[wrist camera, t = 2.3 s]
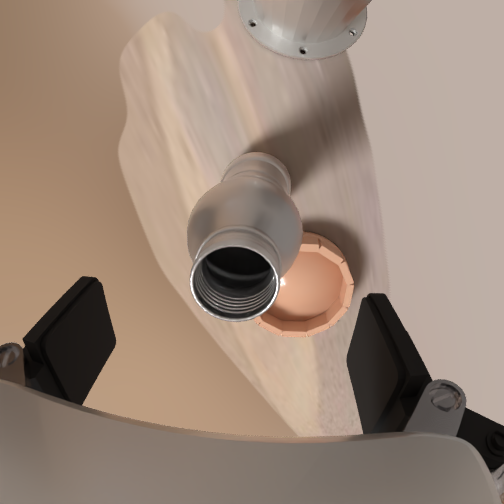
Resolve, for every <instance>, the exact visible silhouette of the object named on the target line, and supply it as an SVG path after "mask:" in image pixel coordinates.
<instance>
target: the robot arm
mask: <svg viewBox="0 0 504 504" xmlns="http://www.w3.org/2000/svg"><path fill="white" fill-rule="evenodd" d="M237 1H238V11H239V15H240V18H241V20H242V22H243V25H244V27H245V28H246V29H247V31H248V32H249V34H250V35H251V36H252V37H253V38H254V39H255V40H256V41H257V42H258V43H260V44H261V45H263V46H264V47H266V48H267V49H269V50H271V51H273V52H275V53H277V54H280V55H282V56H286V57H290V58H293V59H301V60H319V59H324V58H329V57H332V56H335V55H337V54H340V53H342V52H343V51H345V50H346V49H348V48H349V47H350V46H352V45H353V44H354V43H355V42H356V41H357V40H358V38H359V37H360V36H361V34H362V32H363V30H364V28H365V24H366V20H367V8H366V6H367V5H368V3H370V2H371V0H237ZM251 24H256V26H255V27H251ZM349 32H351V33H352V34H353V36H352V35H350V34H349ZM301 50H303V51H305V54H301V53H300V51H301ZM23 342H24V344H25V347H24V348H22V347H21V346H20V345H19V344H17V343H12V342H11V343H6V344H4V345H1V346H0V504H504V426H503V425H501V424H498V423H496V422H494V421H492V420H490V419H488V418H486V417H484V416H482V415H480V414H478V413H476V412H474V411H472V410H470V409H467V408H466V397H465V394H464V392H463V390H462V389H461V388H460V387H459V386H458V385H457V384H455V383H453V382H451V381H448V380H441V379H440V380H439V379H438V380H434V381H432V379H431V377H430V375H429V372H428V371H427V368H426V366H425V365H424V362H423V361H422V359H421V357H420V355H419V353H418V351H417V349H416V347H415V345H414V344H413V341H412V340H411V338H410V336H409V334H408V332H407V331H406V330H405V328H404V326H403V325H402V323H401V321H400V319H399V317H398V316H397V314H396V312H395V310H394V309H393V307H392V305H391V303H390V301H389V300H388V298H387V296H386V295H385V294H383V293H369V294H368V295H367V297H364V298H363V299H362V301H361V305H360V309H359V313H358V317H357V321H356V325H355V329H354V333H353V336H352V340H351V343H350V347H349V350H348V354H347V367H348V371H349V375H350V379H351V383H352V387H353V391H354V395H355V399H356V403H357V408H358V412H359V416H360V421H361V425H362V430H363V434H361V435H347V436H322V437H269V436H249V435H248V436H247V435H236V434H224V433H214V432H206V431H198V430H190V429H184V428H177V427H171V426H165V425H159V424H154V423H149V422H144V421H140V420H135V419H131V418H126V417H122V416H118V415H114V414H110V413H106V412H102V411H99V410H95V409H92V408H88V407H85V406H82V404H83V402H84V400H85V399H86V397H87V395H88V393H89V391H90V389H91V388H92V386H93V384H94V382H95V381H96V379H97V377H98V375H99V373H100V372H101V370H102V368H103V366H104V365H105V363H106V361H107V359H108V358H109V356H110V354H111V353H112V351H113V349H114V348H115V345H116V337H115V334H114V330H113V326H112V323H111V319H110V315H109V312H108V307H107V303H106V299H105V295H104V290H103V286H102V284H101V282H99V281H98V279H97V278H95V277H86V276H82V277H81V278H80V279H79V280H78V281H77V282H76V283H75V284H74V285H73V286H72V287H71V288H70V289H69V290H68V291H67V292H66V293H65V294H64V295H63V296H62V297H61V298H60V299H59V300H58V301H57V302H56V303H55V304H54V305H53V306H52V307H51V308H50V309H49V310H48V312H47V313H46V314H45V315H44V316H43V317H42V318H41V319H40V320H39V321H38V322H37V324H35V326H34V327H33V328H32V329H31V330H30V331H29V332H28V333H27V334H26V336H25V337H24V338H23Z"/></svg>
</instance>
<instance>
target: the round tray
mask: <svg viewBox="0 0 504 504" xmlns="http://www.w3.org/2000/svg"><path fill="white" fill-rule="evenodd" d="M353 289H354V281H353V279H352V276H351V274H350V270H349V266H348V263H347V261H346V259H345V257H344V255H343V253H342V252H341V251H340V249H339V248H338V247H337V246H336V245H335V244H334V243H333V242H331V241H330V240H329V239H327V238H325V237H323V236H321V235H319V234H316V233H312V232H306V231H303V237H302V244H301V247H300V250H299V253H298V255H297V257H296V259H295V261H294V263H293V264H292V266H291V268H290V269H289V270H288V271H287V273H286V274H285V275H284V276H283V277H282V278H281V283H280V290H279V293H278V296H277V298H276V300H275V302H274V303H273V305H272V306H271V307H270V308H269V309H268V310H267V311H266V312H265V313H263V314H262V315H260V316H258V317H256V318H254V321H255V322H256V324H258V323H259V326H261V327H263V328H265V329H267V330H268V331H270V332H272V333H274V334H276V335H278V336H279V335H280V334H281V333H282V336H284V337H306V334H307V336H308V337H309V336H311V335H314V334H316V333H319V332H321V331H324V330H326V329H329V328H330V325H331V326H333V325H334V324H335V323H336V322H337V321H338V320H339V319H340V318H341V317H342V316H343V315H344V313H345V312H346V311H347V310H348V307H350V303H351V298H352V294H353Z"/></svg>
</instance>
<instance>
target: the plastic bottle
mask: <svg viewBox="0 0 504 504" xmlns="http://www.w3.org/2000/svg"><path fill="white" fill-rule="evenodd" d="M290 193H291V178H290V175H289V172H288V170H287V169H286V167H285V165H284V164H283V163H282V162H281V161H280V160H278V159H277V158H276V157H274V156H272V155H270V154H267V153H262V152H251V153H246V154H244V155H241V156H239V157H237V158H236V159H234V160H233V161H232V162H231V163H230V164H229V165H228V166H227V168H226V169H225V171H224V173H223V175H222V178H221V183H219V184H217V185H216V186H214V187H213V188H211V189H210V190H209V191H207V192H206V193H205V194H204V195H203V196H202V197H201V198H200V199H199V201H198V202H197V204H196V205H195V207H194V208H193V210H192V212H191V215H190V218H189V221H188V227H187V245H188V251H189V254H190V258H191V260H192V262H193V267H192V269H191V274H190V288H191V292H192V295H193V297H194V299H195V301H196V302H197V303H198V305H199V306H200V307H201V308H202V309H203V310H204V311H205V312H207V313H208V314H210V315H212V316H213V317H216V318H218V319H221V320H225V321H231V322H241V321H247V320H251V319H254V318H256V317H258V316H260V315H262V314H263V313H265V312H266V311H267V310H268V309H269V308H270V307H271V306H272V305H273V303H274V302H275V300H276V298H277V296H278V293H279V290H280V283H281V278H282V277H283V276H284V275H285V274H286V273H287V271H288V270H289V269H290V268H291V266H292V264H293V263H294V261H295V259H296V257H297V255H298V253H299V250H300V247H301V244H302V237H303V228H302V221H301V218H300V215H299V211H298V210H297V208H296V206H295V204H294V202H293V201H292V199H291V197H290Z"/></svg>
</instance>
